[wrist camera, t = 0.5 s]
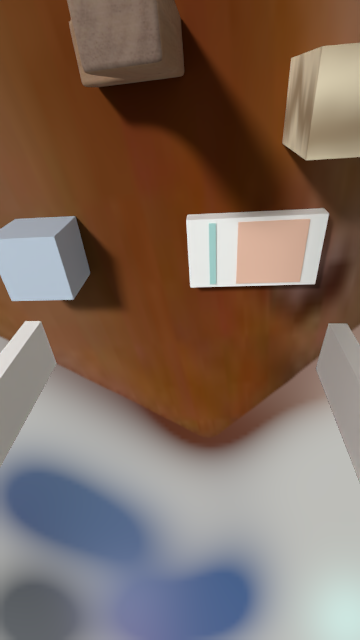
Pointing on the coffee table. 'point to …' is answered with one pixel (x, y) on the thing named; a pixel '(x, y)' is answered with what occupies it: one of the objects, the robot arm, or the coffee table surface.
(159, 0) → the wooden block
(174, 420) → the coffee table surface
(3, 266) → the slate block
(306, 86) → the beige box
